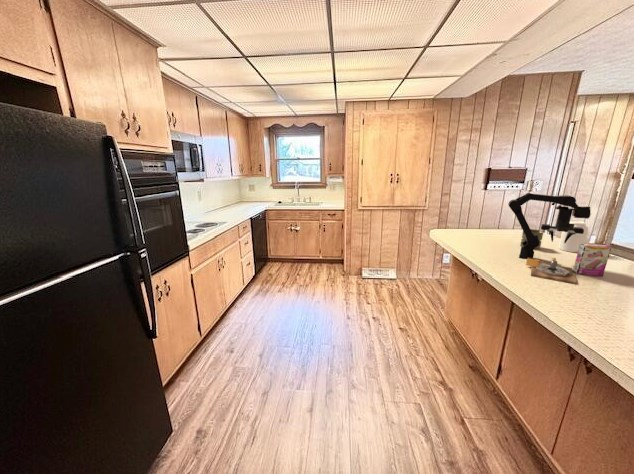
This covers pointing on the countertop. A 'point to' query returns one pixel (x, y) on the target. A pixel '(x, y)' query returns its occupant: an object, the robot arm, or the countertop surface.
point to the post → (553, 265)
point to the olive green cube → (533, 233)
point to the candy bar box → (591, 259)
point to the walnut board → (569, 278)
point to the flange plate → (546, 268)
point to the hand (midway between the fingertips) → (558, 242)
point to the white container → (573, 238)
